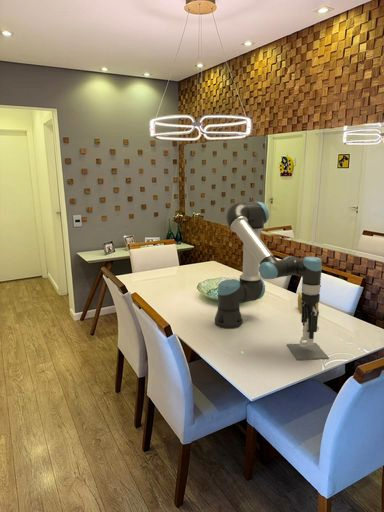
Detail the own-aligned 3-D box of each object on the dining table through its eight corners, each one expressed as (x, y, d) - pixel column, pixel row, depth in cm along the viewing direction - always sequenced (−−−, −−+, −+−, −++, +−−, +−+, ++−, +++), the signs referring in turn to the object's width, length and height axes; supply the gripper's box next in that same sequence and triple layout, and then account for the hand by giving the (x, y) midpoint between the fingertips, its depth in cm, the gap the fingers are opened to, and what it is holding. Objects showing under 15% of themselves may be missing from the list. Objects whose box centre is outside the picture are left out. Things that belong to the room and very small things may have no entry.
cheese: (318, 315, 201) (319, 298, 199) (298, 313, 204) (299, 297, 201) (315, 308, 211) (316, 292, 209) (297, 307, 213) (298, 291, 211)
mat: (297, 360, 152) (297, 359, 152) (286, 345, 166) (286, 344, 166) (328, 358, 153) (329, 357, 153) (315, 344, 167) (315, 342, 167)
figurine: (296, 343, 158) (297, 319, 155) (309, 338, 163) (311, 314, 160) (304, 348, 154) (306, 323, 151) (318, 342, 159) (320, 318, 156)
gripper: (327, 298, 145) (324, 350, 150) (311, 286, 162) (308, 333, 167) (310, 299, 145) (306, 351, 150) (295, 286, 162) (293, 334, 167)
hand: (307, 342), depth 158 cm, fingers closed on figurine, 4 cm apart
